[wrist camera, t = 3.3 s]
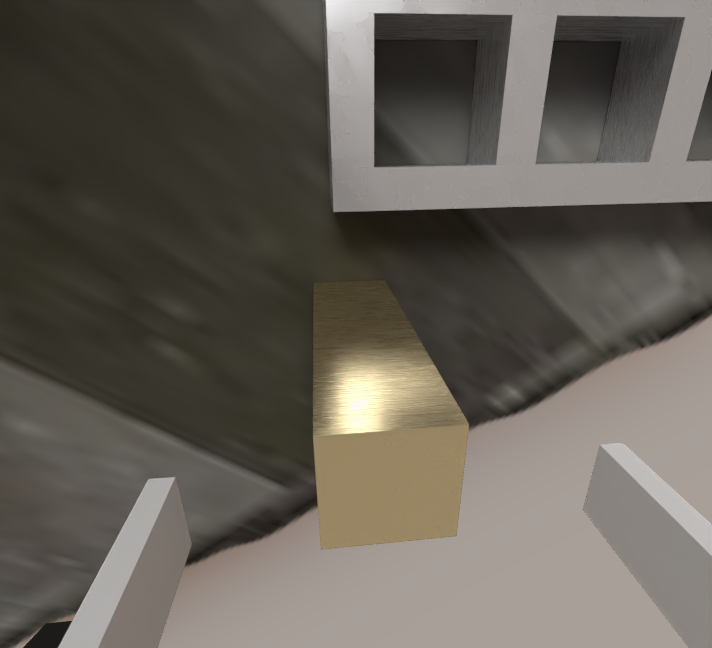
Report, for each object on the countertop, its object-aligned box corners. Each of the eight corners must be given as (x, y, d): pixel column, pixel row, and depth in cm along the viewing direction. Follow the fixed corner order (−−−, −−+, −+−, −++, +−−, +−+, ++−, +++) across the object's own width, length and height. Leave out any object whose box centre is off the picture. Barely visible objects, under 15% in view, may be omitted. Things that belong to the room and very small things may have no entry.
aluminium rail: (330, 203, 23) (333, 212, 20) (322, -11, 19) (323, -51, 16) (738, 192, 25) (810, 198, 22) (804, -2, 22) (905, -35, 18)
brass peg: (317, 347, 27) (321, 549, 13) (313, 282, 25) (313, 436, 11) (383, 343, 27) (456, 536, 13) (384, 279, 25) (469, 424, 12)
